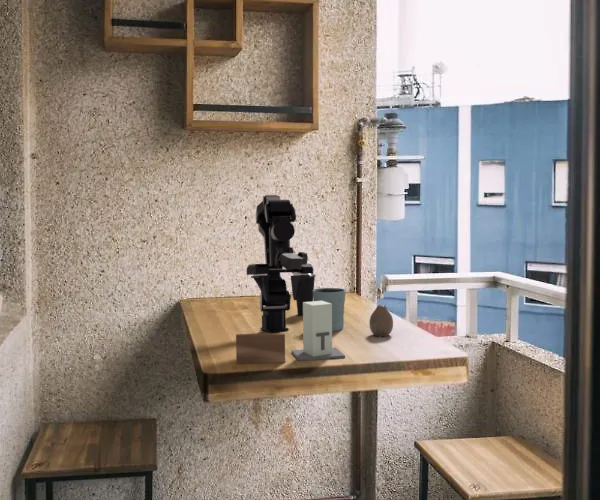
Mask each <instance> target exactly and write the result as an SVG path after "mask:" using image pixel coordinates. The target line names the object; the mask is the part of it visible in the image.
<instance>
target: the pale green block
mask: <svg viewBox="0 0 600 500" xmlns="http://www.w3.org/2000/svg"><path fill="white" fill-rule="evenodd" d="M302 326H303V328H302V344H303V347H302V350H303V352H305V353H307V354H309V355H311V356H320V355H327V354H332V348H333V331H332V304H331V303H328V302H325V301H312V302H303V316H302Z"/></svg>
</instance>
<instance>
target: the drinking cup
mask: <svg viewBox="0 0 600 500" xmlns="http://www.w3.org/2000/svg"><path fill="white" fill-rule="evenodd" d="M307 275H310V276H309V277H306V279H305V280H304V281H303V283H302V285H301V288H300V291H299V295H298V298H297V300H295V302H296V309H297V315H298V316H302V317H303V302H312V301H313V290H314V289H315V282H316V281H315V279H316V274H315V273H313V274H307Z"/></svg>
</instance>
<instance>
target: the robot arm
mask: <svg viewBox="0 0 600 500" xmlns="http://www.w3.org/2000/svg"><path fill="white" fill-rule="evenodd" d="M296 220H297V214H296V210H295V207H294V204H293V203H291V201H290V200H289V199H281V197H280V195H277V194H273V195H272V194H267V195H266V194H265V195H264V196H263V197H262V201H261V202H260V203H259V204H258V205H256V210H255V224H256V225H257V228H258V232H259V233H260V234H261V235H262V236H261V237H263V242H264V244H263V245H264V257H265V259H264V260H265V263H254V264H253V263H252V264H248V266H247V267H246V275H247V276H250V275H251V276H250V278H251V279H254V281H255V283H256V285H257V286H258V288H259V290H260V293H259V295H260V297H259V310H260V312H262V315H261V327H260V330H262V331H265V332H269V333H278V332H284V331H289V329H290V328H289V327H286V325H287V324H286V314H287V312H286V311H289V310H291V299H292V298H293V299H292V300H293V301H296V300H297V298H298V295H299V291H300V288H301V285H302V283H303V281H304V280H305V279H306V277H309V276H310V275H307V274H314V267H313V265H312V263H308V257H309V256H308V253H307V252H306V251H305V252H304V251H299V252H298V253H294V248H293V247H291V239H292V238H293V237H294V235H295V232H296V230H295V227H294V225H293V223H295V222H296ZM281 273H291V274H292V275H290V283H291V284H290V285H291V292H292V296H291V293H290V292H289V290H288V288H287V282H286V281H287V280H286V279H284V278H283V277H282V276H281Z"/></svg>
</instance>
